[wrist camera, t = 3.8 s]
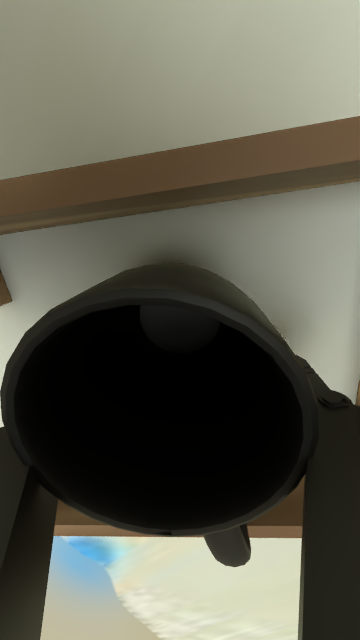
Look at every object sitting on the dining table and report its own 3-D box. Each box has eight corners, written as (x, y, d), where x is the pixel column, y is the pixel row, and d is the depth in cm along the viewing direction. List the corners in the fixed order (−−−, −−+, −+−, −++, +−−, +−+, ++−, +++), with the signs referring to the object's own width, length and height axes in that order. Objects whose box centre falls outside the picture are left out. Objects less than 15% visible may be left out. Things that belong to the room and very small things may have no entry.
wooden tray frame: (-36, 220, 14) (-194, 214, 8) (419, 148, 11) (643, 65, 6) (58, 449, 20) (4, 535, 14) (364, 439, 17) (444, 539, 12)
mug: (163, 423, 18) (130, 608, 9) (94, 275, 14) (-73, 348, 6) (271, 399, 17) (355, 592, 8) (226, 227, 13) (287, 222, 4)
